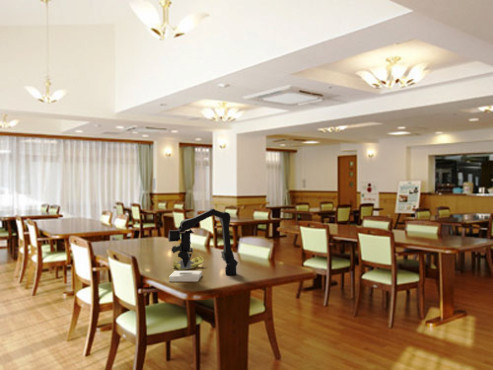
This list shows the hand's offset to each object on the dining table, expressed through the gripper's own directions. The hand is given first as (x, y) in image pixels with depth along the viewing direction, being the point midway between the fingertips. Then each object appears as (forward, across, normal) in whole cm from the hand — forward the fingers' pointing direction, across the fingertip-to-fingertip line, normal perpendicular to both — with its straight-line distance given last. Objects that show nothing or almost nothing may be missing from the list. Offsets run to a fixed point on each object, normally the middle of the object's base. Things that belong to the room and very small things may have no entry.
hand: (185, 266), depth 253 cm
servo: (+1, 0, 0) cm, 1 cm away
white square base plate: (+7, 0, 0) cm, 7 cm away
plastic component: (+8, -32, -4) cm, 33 cm away
